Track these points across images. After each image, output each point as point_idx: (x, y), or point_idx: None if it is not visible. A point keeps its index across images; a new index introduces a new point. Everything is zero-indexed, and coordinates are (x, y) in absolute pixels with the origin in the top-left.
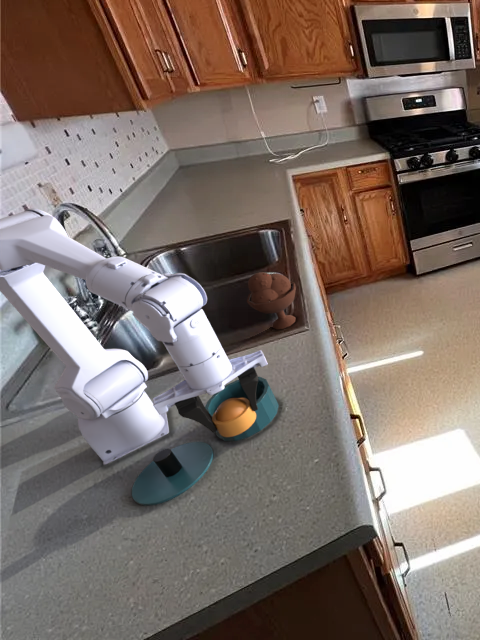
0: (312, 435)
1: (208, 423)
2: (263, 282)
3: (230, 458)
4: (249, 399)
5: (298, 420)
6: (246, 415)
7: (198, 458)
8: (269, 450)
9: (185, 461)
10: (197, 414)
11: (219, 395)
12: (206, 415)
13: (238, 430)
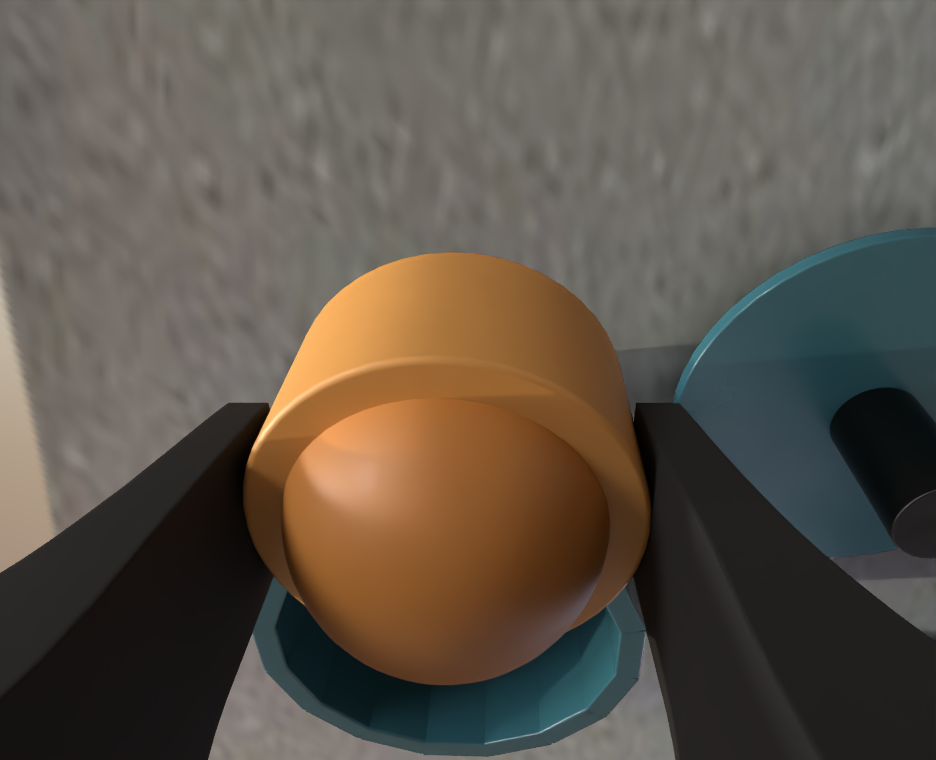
0: (119, 111)
1: (711, 493)
2: None
3: (607, 306)
4: (153, 525)
5: (207, 309)
6: (312, 368)
7: (747, 411)
8: (399, 196)
9: (805, 437)
10: (892, 712)
11: (538, 714)
12: (708, 612)
13: (458, 271)
